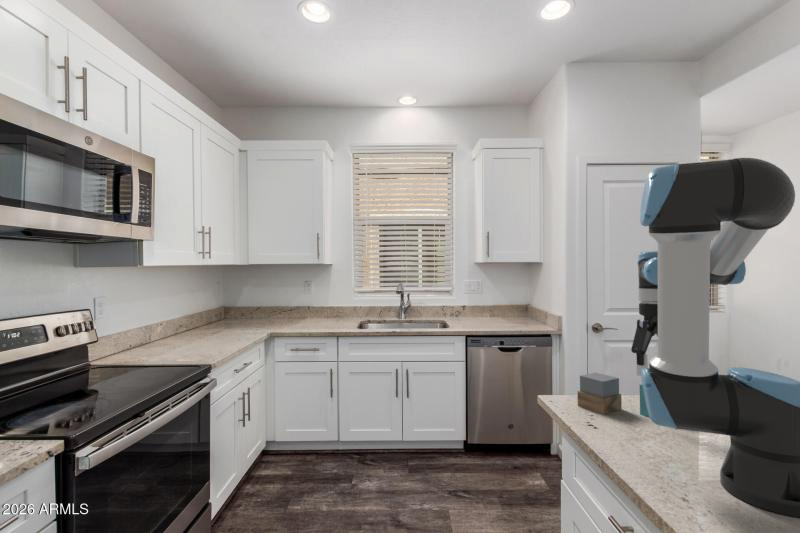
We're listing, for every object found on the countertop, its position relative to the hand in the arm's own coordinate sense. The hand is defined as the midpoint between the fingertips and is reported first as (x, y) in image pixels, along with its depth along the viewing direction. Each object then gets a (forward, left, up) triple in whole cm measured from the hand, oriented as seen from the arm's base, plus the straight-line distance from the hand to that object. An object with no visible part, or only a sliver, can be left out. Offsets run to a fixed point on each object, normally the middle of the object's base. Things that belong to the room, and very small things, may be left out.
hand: (654, 372), depth 119 cm
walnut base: (-8, +13, -13) cm, 20 cm away
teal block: (0, 0, -13) cm, 13 cm away
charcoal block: (-8, +13, -8) cm, 17 cm away
